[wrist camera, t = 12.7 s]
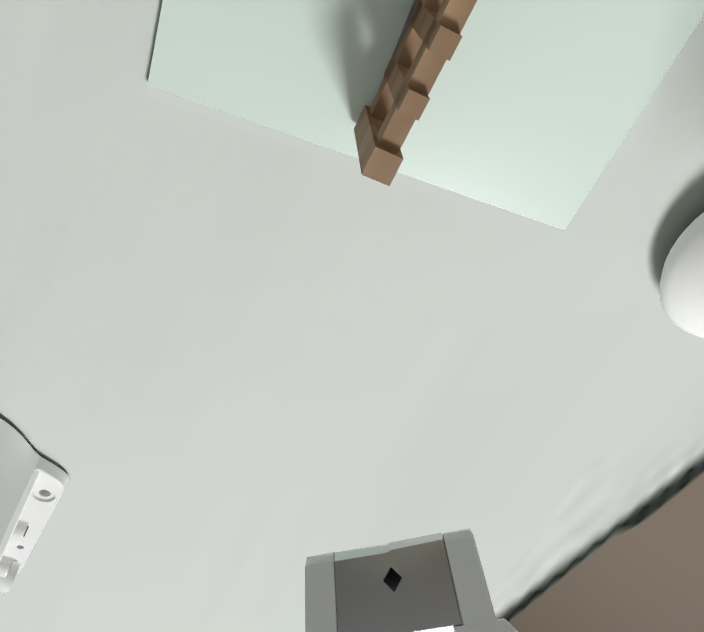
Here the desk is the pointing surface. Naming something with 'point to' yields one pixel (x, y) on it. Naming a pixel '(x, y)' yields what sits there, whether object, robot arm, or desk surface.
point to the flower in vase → (685, 280)
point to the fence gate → (408, 84)
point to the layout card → (439, 83)
